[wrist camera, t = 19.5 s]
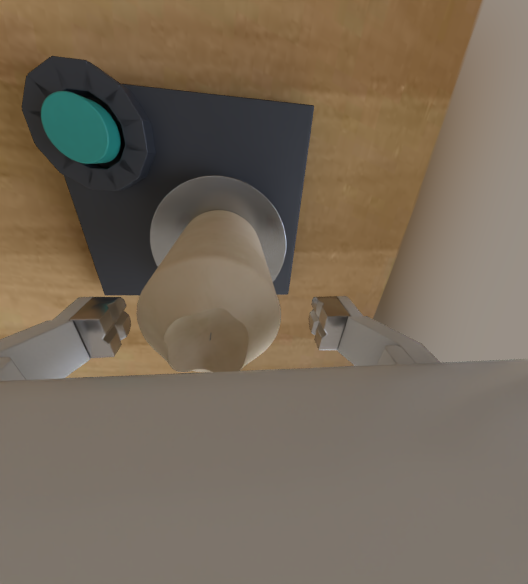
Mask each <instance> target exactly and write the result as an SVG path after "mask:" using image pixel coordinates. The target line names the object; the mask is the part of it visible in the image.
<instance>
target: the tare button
mask: <svg viewBox="0 0 528 584" xmlns="http://www.w3.org/2000/svg"><path fill="white" fill-rule="evenodd" d="M41 120H42V125H43V128H44V130H45V132H46V134H47V136H48V138H49V139H50V141H51V142H52V143H53V145H54V146H55V147H56V148H57V149H58V150H59V151H60V152H61V153H63V154H64V155H65V156H67V157H68V158H70V159H72V160H74V161H77V162H80V163H85V164H97V163H107V162H110V161H112V160H113V159H114V158H115V157H116V156H117V155H118V153H119V150H120V145H121V139H120V133H119V130H118V127H117V125H116V123H115V121H114V120H113V118H112V117H111V115H110V114H109V113H108V112H107V111H106V110H105V109H104V108H103V107H102V106H100V105H99V104H97V103H96V102H94V101H92V100H89V99H87V98H85V97H82V96H80V95H77V94H75V93H72V92H68V91H57V92H54V93H52V94H50V95H49V96H48V97H46V99H45V100H44V102H43V104H42V107H41Z"/></svg>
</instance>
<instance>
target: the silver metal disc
mask: <svg viewBox="0 0 528 584" xmlns="http://www.w3.org/2000/svg"><path fill="white" fill-rule="evenodd" d="M213 210H224V211H229V212H233V213H235V214H237V215H239V216H241V217H242V218H244V219H245V220H246V221H248V223H249V224H250V225H251V226H252V227H253V228H254V230H255V232H256V234H257V236H258V238H259V241H260V244H261V247H262V250H263V253H264V256H265V260H266V263H267V266H268V269H269V272H270V275H271V278H272V282H273V281H274V280H275V279H276V277H277V275H278V274H279V272H280V270H281V268H282V265H283V262H284V259H285V254H286V234H285V229H284V226H283V223H282V220H281V218H280V216H279V214H278V212H277V210H276V209H275V207H274V206H273V204H272V203H271V202H270V201H269V200H268V199H267V197H266V196H265V195H264V194H262V193H261V192H260V191H259V190H258V189H256V188H255V187H253V186H251V185H250V184H248V183H246V182H244V181H241V180H239V179H236V178H232V177H228V176H221V175H208V176H201V177H197V178H194V179H190V180H188V181H186V182H184V183H182V184H180V185H178V186H177V187H175V188H174V189H173V190H171V191H170V192H169V193H168V194H167V195H166V196H165V197H164V198H163V200H162V201H161V202H160V204H159V205H158V207H157V209H156V211H155V213H154V216H153V219H152V222H151V228H150V245H151V250H152V254H153V258H154V260H155V262H156V265H157V267H159V265H160V264H161V262H162V261H163V259H164V258H165V256H166V255H167V254H168V252H169V251H170V249H171V248H172V246H173V245H174V244H175V242H176V241H177V239H178V238H179V236H180V235H181V234H182V232H183V231H184V229H185V228H186V226H187V225H188V224H189V223H190V222H191V221H192V220H193V219H194V218H195V217H197V216H199V215H200V214H203V213H205V212H208V211H213Z"/></svg>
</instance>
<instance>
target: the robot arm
mask: <svg viewBox="0 0 528 584" xmlns="http://www.w3.org/2000/svg"><path fill="white" fill-rule="evenodd" d="M312 307H313V310H312V311H311V312H310V315H309V327H310V330H311V333H313V334H314V335H315V339H314V340H315V342H316V345H317V347H318V349H319V350H338V352H339V353H341V354H342V355H343V356H344V357H345V358H347V359H348V360H349V361H350V362H351V363H352V364H354V365H355V366H346V367H322V368H298V369H275V370H251V371H227V372H203V373H179V374H155V375H131V376H107V377H83V378H65V377H66V376H68V375H69V374H71V373H72V372H73V371H75V370H76V369H77V368H79V367H80V366H82V365H83V364H84V363H86V362H87V361H88V360H90V358H101V357H114V356H115V354H116V353H117V351H118V350H119V348H120V346H121V345H122V344H121V341H120V340H122V339H124V338H125V337H127V335H128V333H129V331H130V327H131V320H130V316H129V315H128V314H127V313H126V312H125V311H124V310H125V308H126V304H125V301H124V299H123V298H121V297H79V298H77V299H76V300H75V301H74V302H73V303H72V304H70V305H69V306H68V307H67V308H66V309H65V310H63V311H62V312H61V313H60V314H59V315H58V316H57V317H55V318H54V319H53V320H52V321H45V322H43V323H40V324H38V325H35V326H33V327H30V328H28V329H25V330H23V331H20V332H18V333H15V334H13V335H10V336H8V337H5V338H3V339H0V584H528V359H513V360H512V359H511V360H490V361H467V362H442V363H441V362H440V361H438V359H437V358H435V356H434V355H433V354H432V353H431V352H429V350H428V349H427V348H426V347H425V346H424V345H423V344H421V343H420V342H418V341H416V340H414V339H412V338H409V337H407V336H406V335H403V334H401V333H399V332H397V331H395V330H393V329H391V328H389V327H387V326H385V325H383V324H381V323H379V322H377V321H375V320H373V319H371V318H369V317H367V316H363V315H362V314H361V313H360V311H359V310H358V309H357V308H356V307H355V305H354V304H353V303H352V302H351V300H350V299H349V298H348V297H347V296H335V297H314V298H313V300H312Z"/></svg>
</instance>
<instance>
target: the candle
mask: <svg viewBox="0 0 528 584" xmlns="http://www.w3.org/2000/svg"><path fill="white" fill-rule="evenodd" d="M137 320H138V324H139V328H140V330H141V332H142V334H143V336H144V338H145V339H146V341H147V342H148V343H149V344H150V346H151V347H152V348H153V349H154V350H155V351H156V352H158V353H159V354H160V355H161V356H162V357H163V358H164V359H165V360H166V361H167V362H168V364H169V365H170V366H171V367H172V369H174V370H176V371H178V372H188V371H197V372H227V371H240V370H241V369H242V368H243V367H244V366H245V365H247V364H248V363H249V362H251V361H252V360H253V359H255V358H256V357H258V356H259V355H260V354H262V353H263V352H264V351H265V350H266V349H267V348H268V347H269V346H270V344H271V343H272V342H273V340H274V339H275V337H276V335H277V332H278V330H279V326H280V321H281V309H280V305H279V301H278V297H277V294H276V291H275V288H274V285H273V282H272V278H271V275H270V272H269V269H268V266H267V263H266V260H265V256H264V253H263V250H262V247H261V244H260V241H259V238H258V236H257V234H256V232H255V230H254V228H253V227H252V226H251V225H250V224H249V223H248V221H246V220H245V219H244V218H242V217H241V216H239V215H237V214H235V213H233V212H229V211H224V210H213V211H208V212H205V213H203V214H200V215H199V216H197V217H195V218H194V219H193V220H192V221H191V222H190V223H189V224H188V225H187V226H186V228H185V229H184V231H183V232H182V234H181V235H180V236H179V238H178V239H177V241H176V242H175V244H174V245H173V246H172V248H171V249H170V251H169V252H168V254H167V255H166V256H165V258H164V259H163V261H162V262H161V264H160V265H159V267H158V268H157V269H156V271H155V272H154V274H153V275H152V277H151V278H150V279H149V281H148V282H147V284H146V285H145V287H144V288H143V290H142V292H141V294H140V297H139V300H138V304H137Z"/></svg>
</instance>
